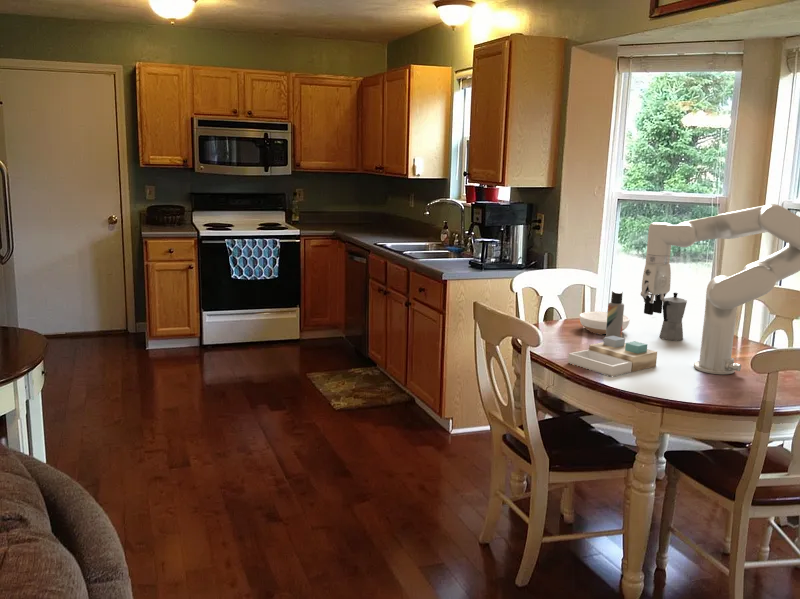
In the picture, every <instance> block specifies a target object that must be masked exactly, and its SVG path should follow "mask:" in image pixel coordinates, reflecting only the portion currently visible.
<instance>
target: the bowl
mask: <svg viewBox="0 0 800 599" xmlns="http://www.w3.org/2000/svg"><path fill="white" fill-rule="evenodd" d="M607 314H608V311H585V312H582V313H579V321H580V324H581V325H582V327H584V328H585V329H586V330H587V331H588V332H590V333H592V332H593V334H596V333H598V334H597V335H602V334H606V327H607ZM630 320H631V319H630V317H629V316H627V315H625V314H623V325H622V332H623V331H625V330H626V329H627V328H628V327H629V324H630Z"/></svg>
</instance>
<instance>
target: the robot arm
mask: <svg viewBox="0 0 800 599" xmlns="http://www.w3.org/2000/svg"><path fill="white" fill-rule="evenodd" d="M765 233H769V234H770V235H772V236H774V237H775V238H778V239H779V240H781V241H783V243H787V245H785V247H783V248H782V249H780V250H779V251H776V252H774V253H772V254H770V255H768V256H766V257H763V258H761V259H759V260H756V261H753V262H751V263H748V264H746V265H745V266H744V267H743V268H742V269H741V271H740V272H738V273H736V274H733V275H731V276H728V275H724V274H721V275H717V276H715V277H713V278H711V280H710V281H709V282H708V284H707V288H706V290H705V292H706V294H705V308H704V317H703V325H702V333H701V335H702V336H701V345H700V354H699V361H695V362H694V364H693V367H694V369H696V370H698V371H700V372H703V373H706V374H713V375H714V374H715V375H732V374H734V373H735V371H736V372H740V371H741V370H742V365H741V364H740V363H735V358H733V357H732V355H733V354H732V353H733V344H734V336H735V327H736V321H737V320H736V318H737V311H738V307H739V306H741V305H744V304H747V303H750V302H751V301H754V300H756V299H759V298H761V297H763V296H765V295H767V294H768V293H770V292H771V291H772V290H773V289H774V288H775V286H776V284H777V283H778V282H780V281H782V280H784V279H787V278H788V277H790V276H793V275H795V274H796V273H799V272H800V216H799V215H798V214H795V213H794V212H792V211H791V210H789V209H787V208H785V207H784V206H781V205H780V204H776V203H774V204H773V203H771V204H763V205H759V206H754V207H750V208H745V209H740V210H736V211H730V212H725V213H719V214H718V215H714V216H707V217H702V218H698V219H692V220H687V221H683V222H680V223H678V224H671V223H669V222H651V223H650V224H649V226H648V233H647V246H646V255H645V265H644V269H643V274H642V280H641V281H642V282H641V292H640V296H641V297H642V299H643V302H644V308H643V314H646V315H649V316H653V315H654V313H657V314H663V301H664V298H666V295H667V294H668V293H670V290H671V279H672V278H671V277H672V275H671V274H672V272H671V264H670V259H671V252H672V251H671V250H672V246H675V247H680V248H688V247H691V246H693V245H694V244H695V243H697V242H703V241H706V240H707V241H709V240H716V239H725V240H732V239H739V238H743V237H749V236H753V235H758V234H765Z"/></svg>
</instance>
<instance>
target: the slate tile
mask: <svg viewBox="0 0 800 599" xmlns="http://www.w3.org/2000/svg"><path fill="white" fill-rule="evenodd" d="M625 341H626V338H623V337H621V338H620V337H617V336H609V337H606V336H605V337H603V342H604V343H603V344H604V345H607V346H611V347H615V348H616V347H621V346H624V345H625V343H626V342H625Z"/></svg>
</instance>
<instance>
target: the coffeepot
mask: <svg viewBox="0 0 800 599" xmlns="http://www.w3.org/2000/svg"><path fill="white" fill-rule="evenodd" d="M672 294H673V297H671V296H670V297H664V301H663V303H662V317H663V321H662V325H661V328H660V329H661V330H660V332H659V338H660V339H662V338H663V340H666V339H667V340H666V341H676V340H677V341H683V339H684V331H683V330H684V329H683V318H684V316H685V315H684V314H685V311H686V306H687V304H688V300H686V299H685V298H679V297H678V294H679V293H677V292H673V293H672Z"/></svg>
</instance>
